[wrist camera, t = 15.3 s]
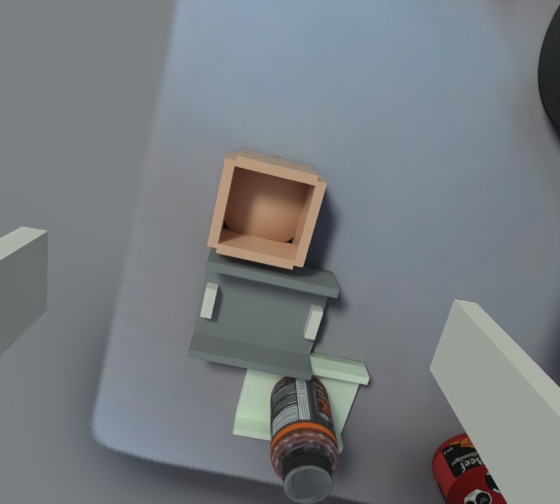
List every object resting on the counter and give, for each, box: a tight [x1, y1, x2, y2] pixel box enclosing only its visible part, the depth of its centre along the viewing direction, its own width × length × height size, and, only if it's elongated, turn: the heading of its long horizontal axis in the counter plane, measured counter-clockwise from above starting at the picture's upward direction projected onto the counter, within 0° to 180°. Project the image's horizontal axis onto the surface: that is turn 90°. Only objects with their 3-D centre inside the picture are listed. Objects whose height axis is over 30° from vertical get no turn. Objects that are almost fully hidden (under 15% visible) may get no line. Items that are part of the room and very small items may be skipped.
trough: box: [233, 352, 369, 453], centre depth 45 cm, size 12×10×3 cm
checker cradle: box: [187, 247, 340, 381], centre depth 40 cm, size 12×10×4 cm
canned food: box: [432, 434, 507, 504], centre depth 45 cm, size 8×8×11 cm
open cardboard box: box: [207, 149, 327, 270], centre depth 36 cm, size 8×8×5 cm
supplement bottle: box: [270, 376, 339, 504], centre depth 40 cm, size 6×6×11 cm
